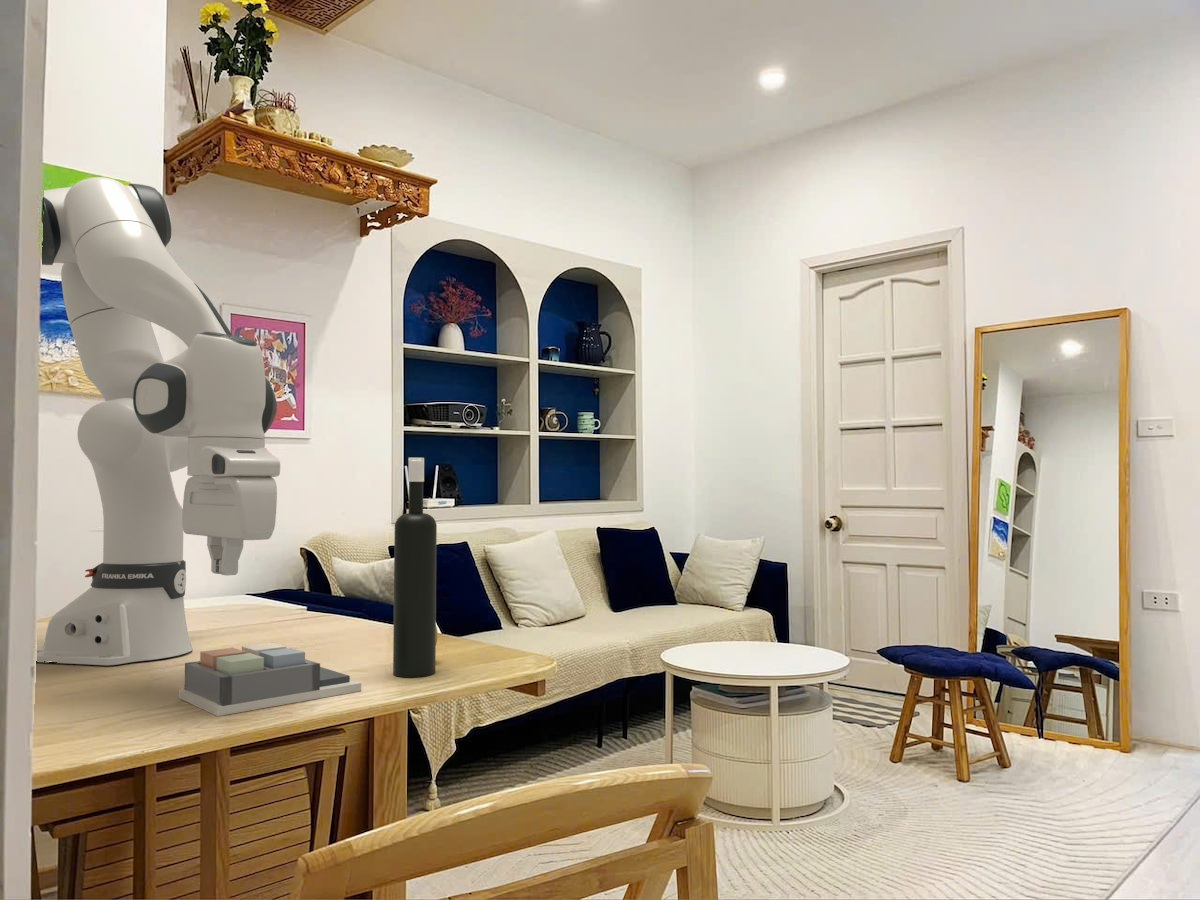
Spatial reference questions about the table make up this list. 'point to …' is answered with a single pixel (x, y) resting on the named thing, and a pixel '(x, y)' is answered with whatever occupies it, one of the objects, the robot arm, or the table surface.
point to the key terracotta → (211, 656)
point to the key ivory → (261, 648)
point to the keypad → (261, 687)
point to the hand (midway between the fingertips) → (224, 574)
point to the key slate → (283, 658)
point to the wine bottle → (415, 584)
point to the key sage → (240, 664)
